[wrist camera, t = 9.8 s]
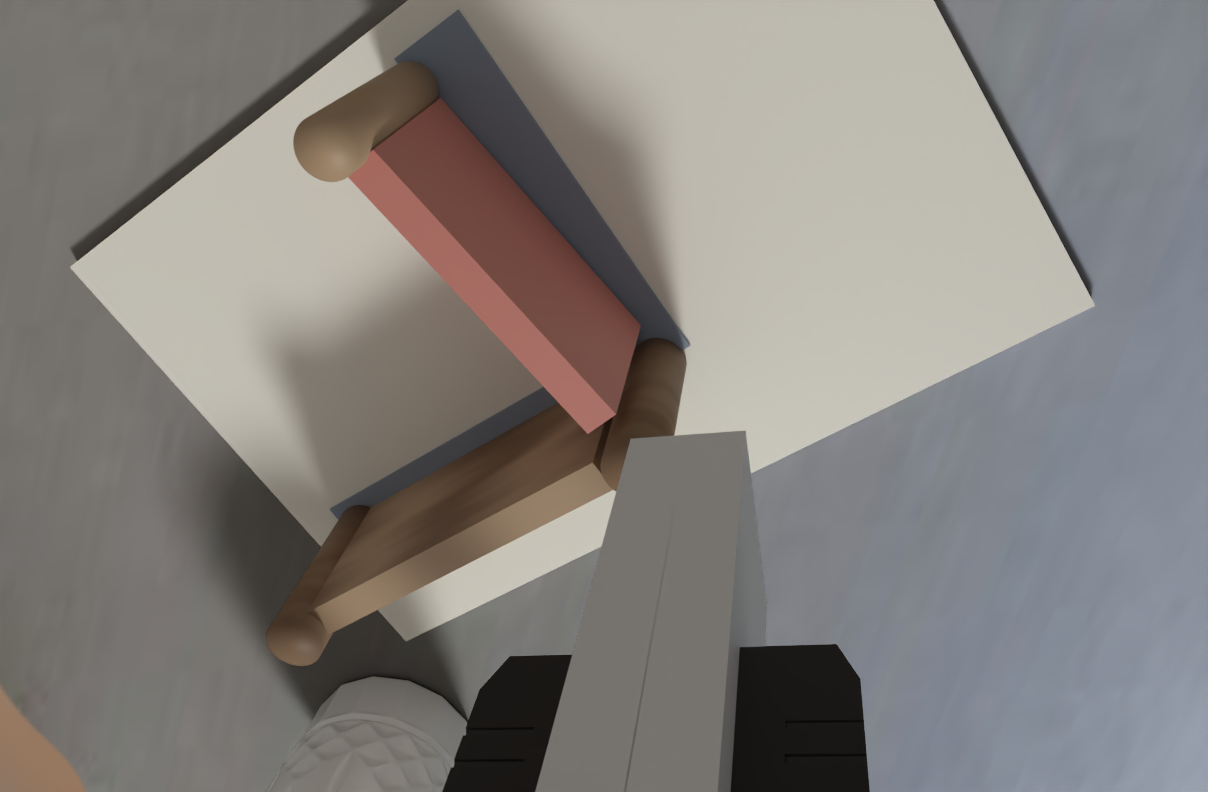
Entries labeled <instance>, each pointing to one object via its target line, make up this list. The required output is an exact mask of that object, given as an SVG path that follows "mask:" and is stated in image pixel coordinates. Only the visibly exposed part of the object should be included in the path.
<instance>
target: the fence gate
mask: <svg viewBox="0 0 1208 792" xmlns="http://www.w3.org/2000/svg"><path fill="white" fill-rule="evenodd" d="M438 98H439V88H438V83H437V81H436V78H435V77H434V75H433V74H432V72H431V71H430V70H429V69H428V68H427V67H425V66H424V65H422V64H420V63H417V62H413V61H404V62H401V63H398V64H397V65H395V66H393V67H391V68H390V69H388V70H386V71H385V72H383V73H381V74H380V75H378V76H376V77H375V78H373V79H371V80H370V81H368V82H366V83H364V84H363V85H361V86H359V87H358V88H356V89H354V90H353V91H351V92H349V93H348V94H346V95H344V96H343V97H341V98H339V99H337V100H336V101H334V102H332V103H331V104H329V105H327V106H326V107H324V108H322V109H321V110H319V111H317V112H315V113H314V114H312V115H310V116H309V117H307V118H305V119H304V120H303V121H302V122H301V123H300V124H299V125H298V127H297V128H296V131H295V134H294V139H293V146H294V152H295V155H296V158H297V160H298V161H299V163H300V165H301V166H302V167H303V168H304V170H305V171H306V172H307V173H309V174H310V175H311V176H313V177H315V178H317V179H319V180H322V181H326V182H338V181H341V180H344V179H346V178H347V177H348V178H349V179H350V180H351V181H352V182H353V183H354V184H355V185H356V186H357V187H358V188H359V190H360V191H361V192H362V193H363V194H364V195H365V196H366V197H367V198H368V199H369V200H370V201H371V202H372V203H373V205H374V206H375V207H376V208H377V209H378V210H379V211H380V212H381V213H382V214H383V215H384V216H385V217H386V218H387V220H388V221H389V222H390V223H391V224H392V225H393V226H394V227H395V228H396V229H397V230H398V231H399V232H400V233H401V235H402V236H403V237H404V238H405V239H406V240H407V241H408V242H409V243H410V244H411V245H412V246H413V247H414V248H415V249H416V251H417V252H418V253H419V254H420V255H421V256H422V257H423V258H424V259H425V260H426V261H427V262H428V263H429V264H430V266H431V267H432V268H433V269H434V270H435V271H436V272H437V273H438V274H439V275H440V276H441V277H442V278H443V279H444V281H445V282H446V283H447V284H448V285H449V286H450V287H451V288H452V289H453V290H454V291H455V292H456V293H457V294H458V296H459V297H460V298H461V299H462V300H463V301H464V302H465V303H466V304H467V305H468V306H469V307H470V308H471V309H472V311H473V312H474V313H475V314H476V315H477V316H478V317H479V318H480V319H481V320H482V321H483V322H484V323H485V324H486V326H487V327H488V328H489V329H490V330H491V331H492V332H493V333H494V334H495V335H496V336H497V337H498V338H499V339H500V340H501V342H502V343H503V344H504V345H505V346H506V347H507V348H508V349H509V350H510V351H511V352H512V353H513V354H514V355H515V357H516V358H517V359H518V360H519V361H520V362H521V363H522V364H523V365H524V366H525V367H526V368H527V369H528V370H529V372H530V373H531V374H532V375H533V376H534V377H535V378H536V379H537V380H538V381H539V382H540V383H541V384H542V385H543V387H544V388H545V389H546V390H547V391H548V392H549V393H550V394H551V395H552V396H553V397H554V398H555V399H556V400H557V402H558V403H559V404H560V405H561V406H562V407H563V408H564V409H565V410H566V411H567V412H568V413H569V414H570V415H571V417H572V418H573V419H574V420H575V421H576V422H577V423H578V424H579V425H580V426H581V427H582V428H583V429H584V430H585V431H586V433H587V434H589V433H590V432H592V431H593V430H594V429H596V428H597V427H599V426H600V425H602V424H603V423H604V422H606V421H607V420H609V419H610V418H612V417H613V416H614V415H616V413H617V409H618V406H619V402H620V399H621V395H622V391H623V388H624V384H625V381H626V377H627V374H628V370H629V367H630V363H631V359H632V356H633V352H634V349H635V345H636V342H637V338H638V335H639V331H640V327H641V325H640V324H639V322H638V321H637V320H636V319H635V318H634V317H633V316H632V314H631V313H630V312H629V311H628V310H627V309H626V308H625V307H624V305H623V304H622V303H621V302H620V301H619V300H618V299H617V297H616V296H615V295H614V294H613V293H612V292H611V291H610V289H609V288H608V287H607V286H606V285H605V284H604V283H603V282H602V280H601V279H600V278H599V277H598V276H597V275H596V274H595V272H594V271H593V270H592V269H591V268H590V267H589V266H588V264H587V263H586V262H585V261H584V260H583V259H582V258H581V257H580V255H579V254H578V253H577V252H576V251H575V250H574V249H573V247H572V246H571V245H570V244H569V243H568V242H567V241H566V239H565V238H564V237H563V236H562V235H561V234H560V233H559V232H558V230H557V229H556V228H555V227H554V226H553V225H552V224H551V222H550V221H549V220H548V219H547V218H546V217H545V216H544V214H543V213H542V212H541V211H540V210H539V209H538V208H537V207H536V205H535V204H534V203H533V202H532V201H531V200H530V199H529V197H528V196H527V195H526V194H525V193H524V192H523V191H522V189H521V188H520V187H519V186H518V185H517V184H516V183H515V182H514V180H513V179H512V178H511V177H510V176H509V175H508V174H507V172H506V171H505V170H504V169H503V168H502V167H501V166H500V164H499V163H498V162H497V161H496V160H495V159H494V158H493V157H492V155H491V154H490V153H489V152H488V151H487V150H486V149H485V147H484V146H483V145H482V144H481V143H480V142H479V141H478V139H477V138H476V137H475V136H474V135H473V134H472V133H471V132H470V130H469V129H468V128H467V127H466V126H465V125H464V124H463V122H462V121H461V120H460V119H459V118H458V117H457V116H456V115H455V113H454V112H453V111H452V110H451V109H450V108H449V107H448V105H447V104H446V103H445V102H444V101H443V100H442V99H441V98H440V99H438Z"/></svg>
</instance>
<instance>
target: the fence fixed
mask: <svg viewBox="0 0 1208 792" xmlns="http://www.w3.org/2000/svg"><path fill="white" fill-rule="evenodd" d="M686 366H687V361H686V356H685V353H684V351H683V350H681V349H680V348H679V347H678V346H677V345H676V344H675V343H673V342H672V341H669V340H667V339H663V338H651V339H647V340H645V341H643V342H641V343H639V344H638V345H637V346H636V347H635V349H634V352H633V356H632V359H631V363H630V367H629V370H628V374H627V377H626V381H625V384H624V388H623V391H622V395H621V399H620V402H619V406H618V409H617V413H616V415H614V416H613V417H612V418H610V419H609V420H607V421H606V422H604V423H603V424H602V425H600V426H599V427H597V428H596V429H594V430H593V431H592V432H590V433H589V434H587V433H586V431H585V430H584V429H583V428H582V427H581V426H580V425H579V424H578V423H577V422H576V421H575V420H574V419H573V418H572V417H571V415H570V414H569V413H568V412H567V411H566V410H565V409H564V408H563V407H562V406H561V405H560V404H559V403H556V404H555V405H553V406H551V407H549V408H547V409H546V410H544V411H542V412H540V413H539V414H537V415H535V416H533V417H531V418H530V419H528V420H526V421H524V422H522V423H521V424H519V425H517V426H515V427H514V428H512V429H510V430H508V431H506V432H505V433H503V434H501V435H499V436H497V437H496V438H494V439H492V440H490V441H489V442H487V443H485V444H483V445H481V446H480V447H478V448H476V449H474V450H472V451H471V452H469V453H467V454H465V455H464V456H462V457H460V458H458V459H456V460H455V461H453V462H451V463H449V464H447V465H446V466H444V467H442V468H440V469H439V470H437V471H435V472H433V473H431V474H430V475H428V476H426V477H424V478H422V479H421V480H419V481H417V482H415V483H414V484H412V485H410V486H408V487H406V488H405V489H403V490H401V491H399V492H397V493H396V494H394V495H392V496H390V497H389V498H387V499H385V500H383V501H381V502H380V503H378V504H376V505H374V506H372V507H368V506H364V505H355V506H351V507H349V508H348V509H346V510H345V511H344V512H343V514H342V515H341V517H340V518H339V520H338V522H337V523H336V525H335V526H334V528H333V529H332V531H331V532H330V534H329V536H328V537H327V539H326V540H325V542H324V543H323V545H322V546H321V548H320V549H319V551H318V553H317V554H316V556H315V557H314V559H313V560H312V562H311V563H310V565H309V567H308V568H307V570H306V571H305V573H304V574H303V576H302V577H301V579H300V580H299V582H298V584H297V585H296V587H295V588H294V590H293V591H292V593H291V594H290V596H289V598H288V599H287V601H286V602H285V604H284V605H283V607H282V608H281V610H280V611H279V613H278V615H277V616H276V618H275V619H274V621H273V622H272V624H271V625H270V627H269V629H268V630H267V633H266V642H267V645H268V647H269V649H270V650H271V652H272V653H273V654H274V655H275V656H276V657H277V658H279V659H280V660H282V661H284V662H286V663H288V664H291V665H296V666H307V665H310V664H313V663H314V662H316V661H317V660H318V659H319V657H320V656H321V654H322V652H323V650H324V648H325V647H326V645H327V643H328V641H329V639H330V638H331V636H332V634H333V632H335V631H337V630H339V629H341V628H343V627H345V626H347V625H349V624H351V623H353V622H355V621H357V620H359V619H361V618H362V617H364V616H366V615H368V614H370V613H372V612H374V611H376V610H378V609H380V608H382V607H384V606H386V605H388V604H390V603H392V602H394V601H396V600H398V599H400V598H402V597H404V596H406V595H408V594H410V593H412V592H414V591H416V590H418V589H419V588H421V587H423V586H425V585H427V584H429V583H431V582H433V581H435V580H437V579H439V578H441V577H443V576H445V575H447V574H449V573H451V572H453V571H455V570H457V569H459V568H461V567H463V566H465V565H467V564H469V563H471V562H473V561H474V560H476V559H478V558H480V557H482V556H484V555H486V554H488V553H490V552H492V551H494V550H496V549H498V548H500V547H502V546H504V545H506V544H508V543H510V542H512V541H514V540H516V539H518V538H520V537H522V536H524V535H526V534H528V533H529V532H531V531H533V530H535V529H537V528H539V527H541V526H543V525H545V524H547V523H549V522H551V521H553V520H555V519H557V518H559V517H561V516H563V515H565V514H567V513H569V512H571V511H573V510H575V509H577V508H579V507H581V506H583V505H584V504H586V503H588V502H590V501H592V500H594V499H596V498H598V497H600V496H602V495H604V494H606V493H608V492H610V491H612V490H614V491H617V487H618V484H619V480H620V476H621V473H622V469H623V465H624V461H625V458H626V454H627V450H628V447H629V443H630V439H634V438H648V437H662V436H674V435H675V429H676V423H677V417H678V412H679V406H680V400H681V394H682V389H683V383H684V377H685V371H686Z"/></svg>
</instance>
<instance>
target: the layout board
mask: <svg viewBox="0 0 1208 792" xmlns="http://www.w3.org/2000/svg"><path fill="white" fill-rule="evenodd" d="M404 61H413V62H417V63H420V64H422V65H424V66H425V67H427V68H428V69H429V70H430V71H431V72H432V74H433V75H434V77H435V78H436V81H437V83H438V88H439V98H438V99H440V98H441V99H442V100H443V101H444V102H445V103H446V104H447V105H448V107H449V108H450V109H451V110H452V111H453V112H454V113H455V115H456V116H457V117H458V118H459V119H460V120H461V121H462V122H463V124H464V125H465V126H466V127H467V128H468V129H469V130H470V132H471V133H472V134H473V135H474V136H475V137H476V138H477V139H478V141H479V142H480V143H481V144H482V145H483V146H484V147H485V149H486V150H487V151H488V152H489V153H490V154H491V155H492V157H493V158H494V159H495V160H496V161H497V162H498V163H499V164H500V166H501V167H502V168H503V169H504V170H505V171H506V172H507V174H508V175H509V176H510V177H511V178H512V179H513V180H514V182H515V183H516V184H517V185H518V186H519V187H520V188H521V189H522V191H523V192H524V193H525V194H526V195H527V196H528V197H529V199H530V200H531V201H532V202H533V203H534V204H535V205H536V207H537V208H538V209H539V210H540V211H541V212H542V213H543V214H544V216H545V217H546V218H547V219H548V220H549V221H550V222H551V224H552V225H553V226H554V227H555V228H556V229H557V230H558V232H559V233H560V234H561V235H562V236H563V237H564V238H565V239H566V241H567V242H568V243H569V244H570V245H571V246H572V247H573V249H574V250H575V251H576V252H577V253H578V254H579V255H580V257H581V258H582V259H583V260H584V261H585V262H586V263H587V264H588V266H589V267H590V268H591V269H592V270H593V271H594V272H595V274H596V275H597V276H598V277H599V278H600V279H601V280H602V282H603V283H604V284H605V285H606V286H607V287H608V288H609V289H610V291H611V292H612V293H613V294H614V295H615V296H616V297H617V299H618V300H619V301H620V302H621V303H622V304H623V305H624V307H625V308H626V309H627V310H628V311H629V312H630V313H631V314H632V316H633V317H634V318H635V319H636V320H637V321H638V322H639V324H640V325H641V327H640V331H639V335H638V338H637V342H636V345H635V347H636V346H637V345H638V344H639V343H641V342H643V341H645V340H647V339H651V338H663V339H667V340H669V341H672V342H673V343H675V344H676V345H677V346H678V347H679V348H680V349H681V350H683V351H684V353H685V356H686V361H687V366H686V371H685V377H684V383H683V389H682V394H681V400H680V406H679V412H678V417H677V423H676V429H675V435H674V436H676V435H690V434H704V433H718V432H732V431H745V430H746V438H747V446H748V454H749V462H750V470H751V473H753V472H755V471H757V470H759V469H761V468H763V467H765V466H767V465H769V464H771V463H773V462H775V461H777V460H780V459H782V458H784V457H786V456H788V455H790V454H792V453H794V452H796V451H798V450H800V449H802V448H804V447H806V446H808V445H810V444H812V443H814V442H816V441H819V440H821V439H823V438H825V437H827V436H829V435H831V434H833V433H835V432H837V431H839V430H841V429H843V428H845V427H847V426H849V425H851V424H853V423H855V422H858V421H860V420H862V419H864V418H866V417H868V416H870V415H872V414H874V413H876V412H878V411H880V410H882V409H884V408H886V407H888V406H890V405H892V404H894V403H897V402H899V401H901V400H903V399H905V398H907V397H909V396H911V395H913V394H915V393H917V392H919V391H921V390H923V389H925V388H927V387H929V386H931V385H933V384H936V383H938V382H940V381H942V380H944V379H946V378H948V377H950V376H952V375H954V374H956V373H958V372H960V371H962V370H964V369H966V368H968V367H970V366H972V365H974V364H977V363H979V362H981V361H983V360H985V359H987V358H989V357H991V356H993V355H995V354H997V353H999V352H1001V351H1003V350H1005V349H1007V348H1009V347H1011V346H1013V345H1016V344H1018V343H1020V342H1022V341H1024V340H1026V339H1028V338H1030V337H1032V336H1034V335H1036V334H1038V333H1040V332H1042V331H1044V330H1046V329H1048V328H1050V327H1052V326H1055V325H1057V324H1059V323H1061V322H1063V321H1065V320H1067V319H1069V318H1071V317H1073V316H1075V315H1077V314H1079V313H1081V312H1083V311H1085V310H1087V309H1089V308H1091V307H1094V306H1095V304H1094V302H1093V300H1092V299H1091V297H1090V295H1089V293H1088V291H1087V289H1086V287H1085V285H1084V283H1083V282H1082V280H1081V278H1080V276H1079V274H1078V272H1077V270H1076V268H1075V266H1074V265H1073V263H1072V261H1071V259H1070V257H1069V255H1068V253H1067V251H1066V249H1065V248H1064V246H1063V244H1062V242H1061V240H1060V238H1059V236H1058V234H1057V232H1056V231H1055V229H1054V227H1053V225H1052V223H1051V221H1050V219H1049V217H1048V215H1047V214H1046V212H1045V210H1044V208H1043V206H1042V204H1041V202H1040V200H1039V198H1038V197H1037V195H1036V193H1035V191H1034V189H1033V187H1032V185H1031V183H1030V181H1029V180H1028V178H1027V176H1026V174H1025V172H1024V170H1023V168H1022V166H1021V164H1020V163H1019V161H1018V159H1017V157H1016V155H1015V153H1014V151H1013V149H1012V147H1011V146H1010V144H1009V142H1008V140H1007V138H1006V136H1005V134H1004V132H1003V130H1002V129H1001V127H1000V125H999V123H998V121H997V119H996V117H995V115H994V113H993V112H992V110H991V108H990V106H989V104H988V102H987V100H986V98H985V96H984V95H983V93H982V91H981V89H980V87H979V85H978V83H977V81H976V79H975V78H974V76H973V74H972V72H971V70H970V68H969V66H968V64H967V62H966V61H965V59H964V57H963V55H962V53H961V51H960V49H959V47H958V45H957V44H956V42H955V40H954V38H953V36H952V34H951V32H950V30H949V28H948V27H947V25H946V23H945V21H944V19H943V17H942V15H941V13H940V11H939V10H938V8H937V6H936V4H935V2H934V0H408V1H406V2H405V3H404V4H403V5H401V6H400V7H399V8H398V9H396V10H395V11H394V12H392V13H391V14H390V15H389V16H387V17H386V18H385V19H384V20H382V21H381V22H380V23H379V24H377V25H376V26H375V27H373V28H372V29H371V30H370V31H368V32H367V33H366V34H365V35H363V36H362V37H361V38H360V39H358V40H357V41H356V42H354V43H353V44H352V45H351V46H349V47H348V48H347V49H346V50H344V51H343V52H342V53H341V54H339V55H338V56H337V57H335V58H334V59H333V60H332V61H330V62H329V63H328V64H327V65H325V66H324V67H323V68H322V69H320V70H319V71H318V72H316V73H315V74H314V75H313V76H311V77H310V78H309V79H308V80H306V81H305V82H304V83H303V84H301V85H300V86H299V87H297V88H296V89H295V90H294V91H292V92H291V93H290V94H289V95H287V96H286V97H285V98H284V99H282V100H281V101H280V102H278V103H277V104H276V105H275V106H273V107H272V108H271V109H270V110H268V111H267V112H266V113H265V114H263V115H262V116H261V117H259V118H258V119H257V120H256V121H254V122H253V123H252V124H251V125H249V126H248V127H247V128H246V129H244V130H243V131H242V132H240V133H239V134H238V135H237V136H235V137H234V138H233V139H232V140H230V141H229V142H228V143H227V144H225V145H224V146H223V147H221V148H220V149H219V150H218V151H216V152H215V153H214V154H213V155H211V156H210V157H209V158H208V159H206V160H205V161H204V162H202V163H201V164H200V165H199V166H197V167H196V168H195V169H194V170H192V171H191V172H190V173H189V174H187V175H186V176H185V177H183V178H182V179H181V180H180V181H178V182H177V183H176V184H175V185H173V186H172V187H171V188H170V189H168V190H167V191H166V192H164V193H163V194H162V195H161V196H159V197H158V198H157V199H156V200H154V201H153V202H152V203H151V204H149V205H148V206H147V207H145V208H144V209H143V210H142V211H140V212H139V213H138V214H137V215H135V216H134V217H133V218H132V219H130V220H129V221H128V222H126V223H125V224H124V225H123V226H121V227H120V228H119V229H118V230H116V231H115V232H114V233H113V234H111V235H110V236H109V237H107V238H106V239H105V240H104V241H102V242H101V243H100V244H99V245H97V246H96V247H95V248H94V249H92V250H91V251H90V252H88V253H87V254H86V255H85V256H83V257H82V258H81V259H80V260H78V261H77V262H76V263H75V264H73V265H72V266H71V267H70V268H71V269H72V270H73V271H74V272H75V273H76V275H77V276H78V277H79V278H80V279H81V280H82V281H83V282H84V283H85V285H86V286H87V287H88V288H89V289H90V290H91V291H92V292H93V294H94V295H95V296H96V297H97V298H98V299H99V300H100V301H101V302H102V304H103V305H104V306H105V307H106V308H107V309H108V310H109V311H110V312H111V314H112V315H113V316H114V317H115V318H116V319H117V320H118V321H119V322H120V324H121V325H122V326H123V327H124V328H125V329H126V330H127V331H128V332H129V334H130V335H131V336H132V337H133V338H134V339H135V340H136V341H137V343H138V344H139V345H140V346H141V347H142V348H143V349H144V350H145V351H146V353H147V354H148V355H149V356H150V357H151V358H152V359H153V360H154V361H155V363H156V364H157V365H158V366H159V367H160V368H161V369H162V370H163V371H164V373H165V374H166V375H167V376H168V377H169V378H170V379H171V380H172V381H173V383H174V384H175V385H176V386H177V387H178V388H179V389H180V390H181V391H182V393H183V394H184V395H185V396H186V397H187V398H188V399H189V400H190V402H191V403H192V404H193V405H194V406H195V407H196V408H197V409H198V410H199V412H200V413H201V414H202V415H203V416H204V417H205V418H206V419H207V420H208V422H209V423H210V424H211V425H212V426H213V427H214V428H215V429H216V430H217V432H218V433H219V434H220V435H221V436H222V437H223V438H224V439H225V440H226V442H227V443H228V444H229V445H230V446H231V447H232V448H233V449H234V451H235V452H236V453H237V454H238V455H239V456H240V457H241V458H242V459H243V461H244V462H245V463H246V464H247V465H248V466H249V467H250V468H251V469H252V471H253V472H254V473H255V474H256V475H257V476H258V477H259V478H260V479H261V481H262V482H263V483H264V484H265V485H266V486H267V487H268V488H269V489H270V491H271V492H272V493H273V494H274V495H275V496H276V497H277V498H278V500H279V501H280V502H281V503H282V504H283V505H284V506H285V507H286V508H287V510H288V511H289V512H290V513H291V514H292V515H293V516H294V517H295V518H296V520H297V521H298V522H299V523H300V524H301V525H302V526H303V527H304V528H305V530H306V531H307V532H308V533H309V534H310V535H311V536H312V537H313V538H314V540H315V541H316V542H317V543H318V544H319V545H320V546H322V545H323V543H324V542H325V540H326V539H327V537H328V536H329V534H330V532H331V531H332V529H333V528H334V526H335V525H336V523H337V522H338V520H339V518H340V517H341V515H342V514H343V512H344V511H345V510H346V509H348V508H349V507H351V506H355V505H364V506H368V507H372V506H374V505H376V504H378V503H380V502H381V501H383V500H385V499H387V498H389V497H390V496H392V495H394V494H396V493H397V492H399V491H401V490H403V489H405V488H406V487H408V486H410V485H412V484H414V483H415V482H417V481H419V480H421V479H422V478H424V477H426V476H428V475H430V474H431V473H433V472H435V471H437V470H439V469H440V468H442V467H444V466H446V465H447V464H449V463H451V462H453V461H455V460H456V459H458V458H460V457H462V456H464V455H465V454H467V453H469V452H471V451H472V450H474V449H476V448H478V447H480V446H481V445H483V444H485V443H487V442H489V441H490V440H492V439H494V438H496V437H497V436H499V435H501V434H503V433H505V432H506V431H508V430H510V429H512V428H514V427H515V426H517V425H519V424H521V423H522V422H524V421H526V420H528V419H530V418H531V417H533V416H535V415H537V414H539V413H540V412H542V411H544V410H546V409H547V408H549V407H551V406H553V405H555V404H556V403H558V402H557V400H556V399H555V398H554V397H553V396H552V395H551V394H550V393H549V392H548V391H547V390H546V389H545V388H544V387H543V385H542V384H541V383H540V382H539V381H538V380H537V379H536V378H535V377H534V376H533V375H532V374H531V373H530V372H529V370H528V369H527V368H526V367H525V366H524V365H523V364H522V363H521V362H520V361H519V360H518V359H517V358H516V357H515V355H514V354H513V353H512V352H511V351H510V350H509V349H508V348H507V347H506V346H505V345H504V344H503V343H502V342H501V340H500V339H499V338H498V337H497V336H496V335H495V334H494V333H493V332H492V331H491V330H490V329H489V328H488V327H487V326H486V324H485V323H484V322H483V321H482V320H481V319H480V318H479V317H478V316H477V315H476V314H475V313H474V312H473V311H472V309H471V308H470V307H469V306H468V305H467V304H466V303H465V302H464V301H463V300H462V299H461V298H460V297H459V296H458V294H457V293H456V292H455V291H454V290H453V289H452V288H451V287H450V286H449V285H448V284H447V283H446V282H445V281H444V279H443V278H442V277H441V276H440V275H439V274H438V273H437V272H436V271H435V270H434V269H433V268H432V267H431V266H430V264H429V263H428V262H427V261H426V260H425V259H424V258H423V257H422V256H421V255H420V254H419V253H418V252H417V251H416V249H415V248H414V247H413V246H412V245H411V244H410V243H409V242H408V241H407V240H406V239H405V238H404V237H403V236H402V235H401V233H400V232H399V231H398V230H397V229H396V228H395V227H394V226H393V225H392V224H391V223H390V222H389V221H388V220H387V218H386V217H385V216H384V215H383V214H382V213H381V212H380V211H379V210H378V209H377V208H376V207H375V206H374V205H373V203H372V202H371V201H370V200H369V199H368V198H367V197H366V196H365V195H364V194H363V193H362V192H361V191H360V190H359V188H358V187H357V186H356V185H355V184H354V183H353V182H352V181H351V180H350V179H349V178H348V177H347V178H346V179H344V180H341V181H338V182H326V181H322V180H319V179H317V178H315V177H313V176H311V175H310V174H309V173H307V172H306V171H305V170H304V168H303V167H302V166H301V165H300V163H299V161H298V160H297V158H296V155H295V152H294V146H293V139H294V134H295V131H296V128H297V127H298V125H299V124H300V123H301V122H302V121H303V120H304V119H305V118H307V117H309V116H310V115H312V114H314V113H315V112H317V111H319V110H321V109H322V108H324V107H326V106H327V105H329V104H331V103H332V102H334V101H336V100H337V99H339V98H341V97H343V96H344V95H346V94H348V93H349V92H351V91H353V90H354V89H356V88H358V87H359V86H361V85H363V84H364V83H366V82H368V81H370V80H371V79H373V78H375V77H376V76H378V75H380V74H381V73H383V72H385V71H386V70H388V69H390V68H391V67H393V66H395V65H397V64H398V63H401V62H404ZM615 495H616V491H614V490H612V491H610V492H608V493H606V494H604V495H602V496H600V497H598V498H596V499H594V500H592V501H590V502H588V503H586V504H584V505H583V506H581V507H579V508H577V509H575V510H573V511H571V512H569V513H567V514H565V515H563V516H561V517H559V518H557V519H555V520H553V521H551V522H549V523H547V524H545V525H543V526H541V527H539V528H537V529H535V530H533V531H531V532H529V533H528V534H526V535H524V536H522V537H520V538H518V539H516V540H514V541H512V542H510V543H508V544H506V545H504V546H502V547H500V548H498V549H496V550H494V551H492V552H490V553H488V554H486V555H484V556H482V557H480V558H478V559H476V560H474V561H473V562H471V563H469V564H467V565H465V566H463V567H461V568H459V569H457V570H455V571H453V572H451V573H449V574H447V575H445V576H443V577H441V578H439V579H437V580H435V581H433V582H431V583H429V584H427V585H425V586H423V587H421V588H419V589H418V590H416V591H414V592H412V593H410V594H408V595H406V596H404V597H402V598H400V599H398V600H396V601H394V602H392V603H390V604H388V605H386V606H384V607H382V608H380V609H378V611H379V612H380V613H381V614H382V615H383V616H384V618H385V619H386V620H387V621H388V622H389V623H390V624H391V625H392V626H393V628H394V629H395V630H396V631H397V632H398V633H399V634H400V635H401V636H402V638H403V639H404V640H405V641H408V640H410V639H412V638H414V637H416V636H418V635H420V634H422V633H425V632H427V631H429V630H431V629H433V628H435V627H437V626H439V625H441V624H443V623H445V622H447V621H449V620H451V619H453V618H455V617H457V616H459V615H461V614H464V613H466V612H468V611H470V610H472V609H474V608H476V607H478V606H480V605H482V604H484V603H486V602H488V601H490V600H492V599H494V598H496V597H498V596H500V595H502V594H505V593H507V592H509V591H511V590H513V589H515V588H517V587H519V586H521V585H523V584H525V583H527V582H529V581H531V580H533V579H535V578H537V577H539V576H541V575H544V574H546V573H548V572H550V571H552V570H554V569H556V568H558V567H560V566H562V565H564V564H566V563H568V562H570V561H572V560H574V559H576V558H578V557H580V556H583V555H585V554H587V553H589V552H591V551H593V550H595V549H597V548H599V547H601V546H602V543H603V539H604V535H605V532H606V528H607V524H608V521H609V517H610V513H611V510H612V506H613V502H614V498H615Z"/></svg>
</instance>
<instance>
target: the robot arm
mask: <svg viewBox="0 0 1208 792" xmlns="http://www.w3.org/2000/svg"><path fill="white" fill-rule="evenodd" d="M766 613H767V599H766V591H765V583H764V575H763V567H762V559H761V551H760V543H759V535H758V527H757V519H756V511H755V502H754V494H753V486H752V478H751V470H750V462H749V454H748V446H747V438H746V430H745V431H732V432H718V433H704V434H690V435H676V436H662V437H648V438H634V439H630V443H629V447H628V450H627V454H626V458H625V461H624V465H623V469H622V473H621V476H620V480H619V484H618V487H617V491H616V495H615V498H614V502H613V506H612V510H611V513H610V517H609V521H608V524H607V528H606V532H605V535H604V539H603V543H602V547H601V550H600V554H599V558H598V561H597V565H596V569H595V572H594V576H593V580H592V584H591V587H590V591H589V595H588V598H587V602H586V606H585V609H584V613H583V617H582V621H581V624H580V628H579V632H578V635H577V639H576V643H575V646H574V650H573V654H572V655H545V656H510V657H509V658H508V659H507V660H506V661H505V662H504V663H503V665H502V666H501V667H500V668H499V669H498V670H497V671H496V672H495V673H494V675H493V676H492V677H491V678H490V679H489V680H488V681H487V682H486V683H485V685H484V686H483V687H482V688H481V689H480V690H479V693H478V696H477V699H476V701H475V704H474V707H473V709H472V712H471V715H470V718H469V720H468V723H467V726H466V735H463V737H462V739H461V742H460V745H459V747H458V750H457V753H456V756H455V758H454V767H451V769H450V772H449V775H448V777H447V780H446V783H445V785H444V788H443V791H442V792H870V791H869V779H868V767H867V755H866V743H865V731H864V719H863V707H862V695H861V683H860V678H859V676H858V675H857V674H856V672H855V671H854V669H853V668H852V666H851V665H850V663H849V662H848V660H847V659H846V657H845V656H844V655H843V653H842V652H841V650H840V649H839V647H838V646H837V644H832V645H796V646H765V644H766Z"/></svg>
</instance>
